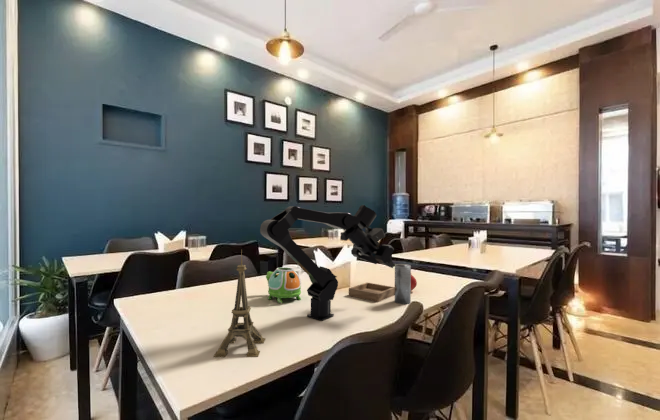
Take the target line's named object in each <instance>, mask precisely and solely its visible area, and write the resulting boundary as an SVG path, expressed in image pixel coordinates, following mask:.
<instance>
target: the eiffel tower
mask: <svg viewBox="0 0 660 420" xmlns="http://www.w3.org/2000/svg"><path fill="white" fill-rule="evenodd" d="M242 253H243V249H241V255H240V264H239V265H237V266H236V267H237V268H236V271H237V272H238V275H237V283H236V284H237V285H236V286H237V287H236V293H235V302H234V307H233V309H232V310H231V314H232V320H231V322H230V326H229V328H228V329H227V331H228V333H227V334H226V336H225V338H224V339H223V341H222V343H221V344H220V346H219V347H218V350H216V352H215V353H214V355H213V356H212V357H213V358H226V356H227V354H228V353H229V349H228V348H229V346H230V344H232V345H233V344H235V341H237V338H238V337H239V338H240V337H241V338H243V339H244V340H245V342H246V347H247V353H246V355H245V356H246V358H258V357H259V355H260V353H261V350H259V349H258V347H257V345H256V344H264V343H265V341H266V337H263V336H262V334H261V333H260V332H259V330H258V329H257V328H256V326H255V325H254V321H252V318H251V314H250V312H251V309H252V308H251V305H249V302H248V294H247V286H246V276H245V271H246V270H247V269H248V268H247V267H246V264H243V254H242ZM240 318H243V322H239V319H240Z"/></svg>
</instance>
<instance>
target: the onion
mask: <svg viewBox="0 0 660 420" xmlns="http://www.w3.org/2000/svg"><path fill="white" fill-rule="evenodd" d="M417 285H418V281H417V279H416V277H414V276H413V274H411V292H412V291H413V290H415V288H416V287H417Z"/></svg>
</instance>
